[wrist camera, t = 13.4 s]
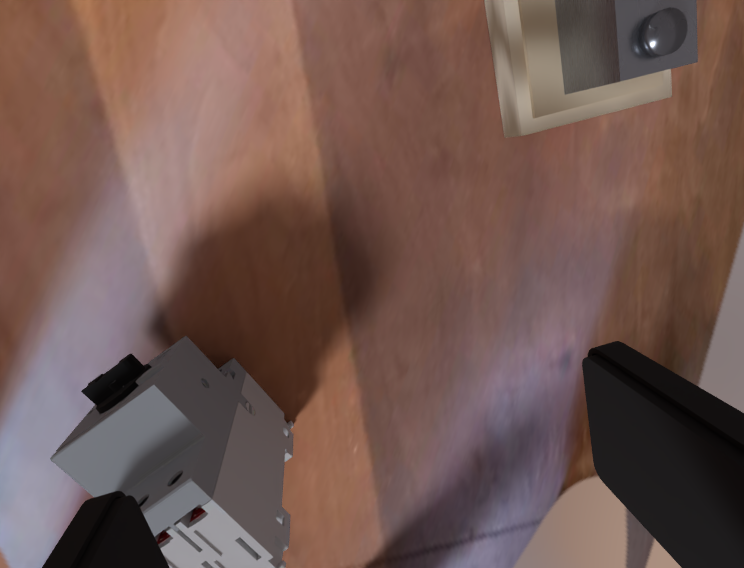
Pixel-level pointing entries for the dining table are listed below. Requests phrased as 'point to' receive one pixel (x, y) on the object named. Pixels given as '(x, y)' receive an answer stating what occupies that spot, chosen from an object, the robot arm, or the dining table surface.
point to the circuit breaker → (189, 456)
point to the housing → (623, 39)
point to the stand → (550, 72)
